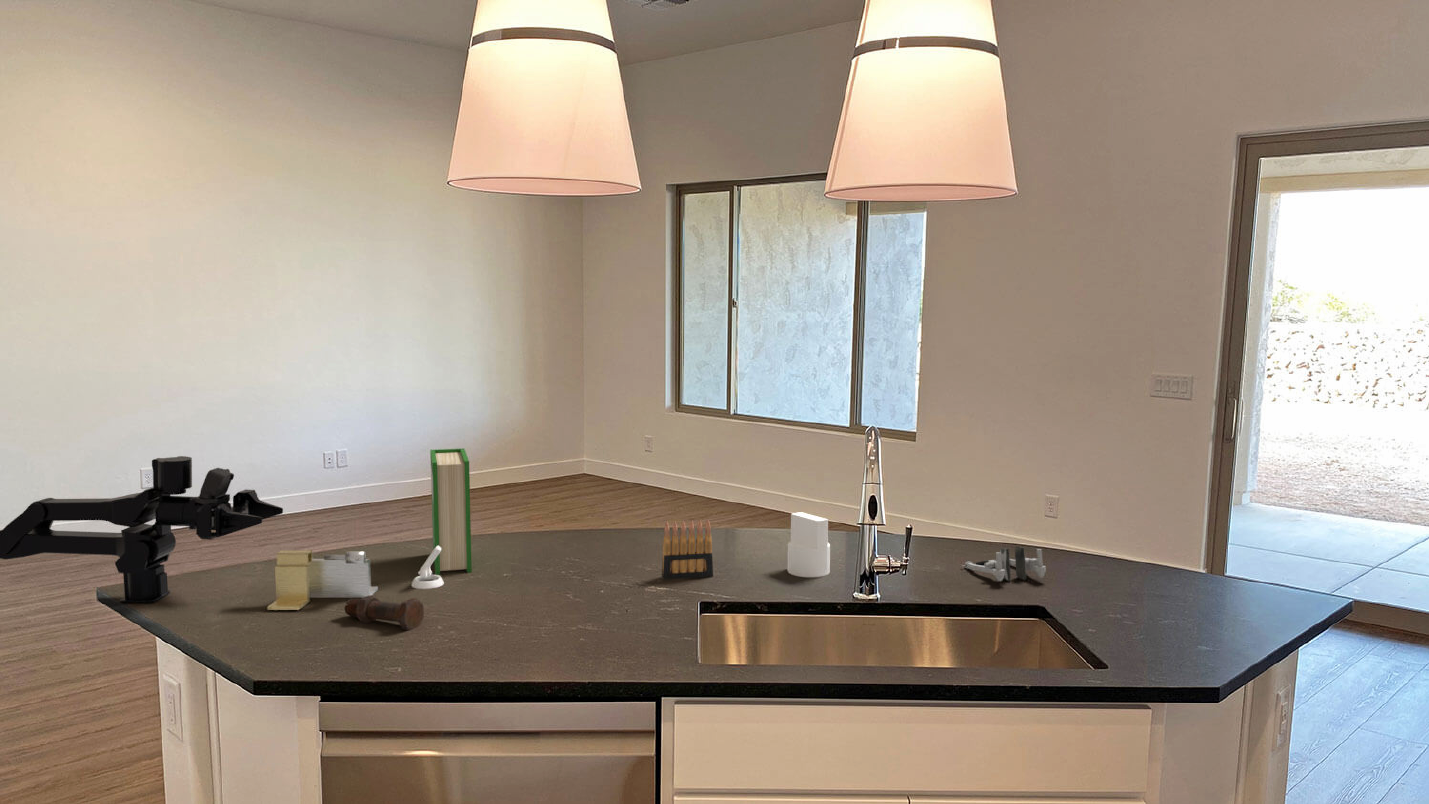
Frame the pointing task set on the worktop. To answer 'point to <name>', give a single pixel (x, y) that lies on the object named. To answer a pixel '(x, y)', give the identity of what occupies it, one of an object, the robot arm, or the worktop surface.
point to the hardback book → (451, 509)
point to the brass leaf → (292, 580)
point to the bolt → (387, 611)
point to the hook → (428, 573)
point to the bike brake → (1003, 563)
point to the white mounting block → (340, 576)
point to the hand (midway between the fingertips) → (272, 515)
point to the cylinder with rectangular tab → (808, 546)
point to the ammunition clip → (687, 553)
